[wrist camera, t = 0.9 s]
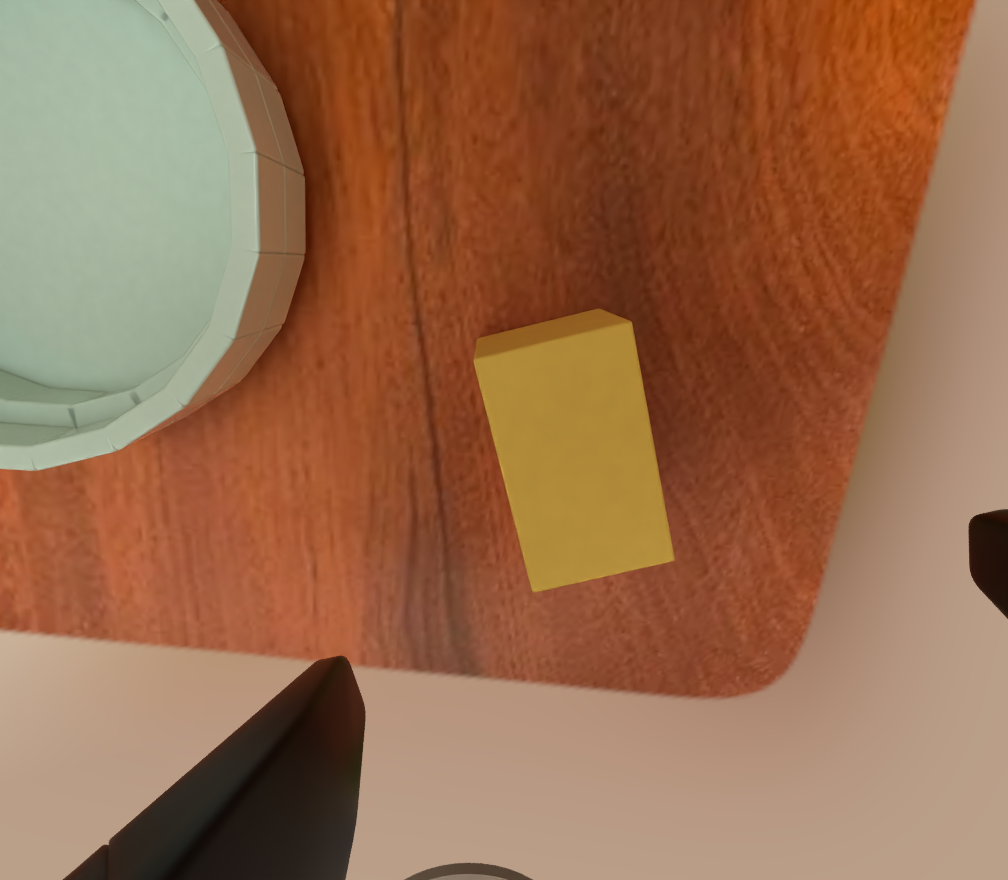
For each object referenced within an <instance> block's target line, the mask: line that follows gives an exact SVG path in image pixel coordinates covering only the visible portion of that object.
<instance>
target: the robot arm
mask: <svg viewBox="0 0 1008 880" xmlns="http://www.w3.org/2000/svg"><path fill="white" fill-rule="evenodd" d="M969 564H970V572H971V576H972V578H973V580H974V582H975V583H976V585H977V586H978V587H979V589H980V590H981V591H982V592H983V593H984V594H985V595H986V596H987V597H988V598H989V599H990V600H991V601H992V602H993V603H994V605H995V606H996V607H997V608H998V609H999V610H1000V611H1001V612H1002V613H1003V614H1004V615H1005V616H1006V617H1007V618H1008V509H1003V510H997V511H992V512H988V513H983V514H979V515H976V516H974V517H973V518H972V519H971V521H970V523H969ZM364 730H365V707H364V702H363V699H362V696H361V693H360V690H359V687H358V685H357V682H356V679H355V676H354V674H353V671H352V668H351V665H350V663H349V661H348V660H347V658H346V657H344V656H336V657H331V658H326V659H322V660H319V661H316V662H315V663H314V664H313V665H311V666H310V667H309V668H308V669H307V670H306V671H305V672H303V673H302V674H301V675H300V676H299V677H297V678H296V679H295V680H294V681H293V682H292V683H290V684H289V685H288V686H287V687H286V688H285V689H284V690H282V691H281V692H280V693H279V694H278V695H277V696H275V697H274V698H273V699H272V700H271V701H270V702H268V703H267V704H266V705H265V706H264V707H263V708H262V709H261V710H259V711H258V712H257V713H256V714H255V715H253V716H252V717H251V718H250V719H249V720H248V721H247V722H245V723H244V724H243V725H242V726H241V727H240V728H238V729H237V730H236V731H235V732H234V733H233V734H232V735H230V736H229V737H228V738H227V739H226V740H225V741H224V742H222V743H221V744H220V745H219V746H218V747H216V748H215V749H214V750H213V751H212V752H211V753H209V754H208V755H207V756H206V757H205V758H204V759H202V760H201V761H200V762H199V763H198V764H197V765H196V766H194V767H193V768H192V769H191V770H190V771H189V772H187V773H186V774H185V775H184V776H183V777H182V778H180V779H179V780H178V781H177V782H176V783H175V784H174V785H172V786H171V787H170V788H169V789H168V790H167V791H165V792H164V793H163V794H162V795H161V796H160V797H158V798H157V799H156V800H155V801H154V802H153V803H152V804H150V805H149V806H148V807H147V808H146V809H145V810H143V811H142V812H141V813H140V814H139V815H138V816H136V817H135V818H134V819H133V820H132V821H131V822H130V823H128V824H127V825H126V826H125V827H124V828H123V829H121V830H120V831H119V832H118V833H117V834H116V835H114V836H113V837H112V838H111V839H110V841H109V846H108V845H103V846H101V847H100V848H99V849H98V850H97V851H96V852H95V853H93V854H92V855H91V856H90V857H89V858H88V859H87V860H85V861H84V862H83V863H82V864H81V865H80V866H79V867H77V868H76V869H75V870H74V871H73V872H71V873H70V874H69V875H68V876H67V877H65V878H64V879H63V880H345V878H346V873H347V869H348V863H349V858H350V853H351V848H352V843H353V837H354V831H355V826H356V818H357V810H358V799H359V788H360V776H361V765H362V752H363V741H364Z"/></svg>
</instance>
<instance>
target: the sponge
mask: <svg viewBox="0 0 1008 880" xmlns="http://www.w3.org/2000/svg"><path fill="white" fill-rule="evenodd" d="M473 362H474V366H475V370H476V374H477V378H478V382H479V386H480V390H481V394H482V397H483V401H484V405H485V409H486V413H487V417H488V421H489V425H490V429H491V433H492V437H493V440H494V444H495V448H496V452H497V456H498V460H499V464H500V468H501V472H502V476H503V480H504V483H505V487H506V491H507V495H508V499H509V503H510V507H511V511H512V515H513V519H514V523H515V526H516V530H517V534H518V538H519V542H520V546H521V550H522V554H523V558H524V562H525V566H526V569H527V573H528V577H529V581H530V585H531V589H532V591H533V592H540V591H544V590H548V589H553V588H557V587H562V586H566V585H570V584H575V583H579V582H583V581H588V580H592V579H597V578H601V577H605V576H610V575H614V574H619V573H623V572H627V571H632V570H636V569H641V568H645V567H649V566H654V565H658V564H663V563H667V562H671V561H674V553H673V547H672V542H671V536H670V531H669V525H668V520H667V514H666V509H665V503H664V497H663V492H662V486H661V481H660V475H659V470H658V464H657V459H656V453H655V448H654V442H653V436H652V431H651V425H650V420H649V414H648V409H647V403H646V398H645V392H644V387H643V381H642V375H641V370H640V364H639V359H638V353H637V348H636V342H635V337H634V331H633V326H632V322H631V321H629V320H627V319H624V318H622V317H619V316H617V315H614V314H612V313H609V312H607V311H604V310H602V309H594V310H590V311H586V312H582V313H578V314H574V315H570V316H566V317H562V318H558V319H554V320H550V321H546V322H542V323H538V324H533V325H529V326H525V327H521V328H517V329H513V330H509V331H505V332H501V333H497V334H493V335H489V336H485V337H481V338H478V339H477V341H476V348H475V355H474V361H473Z"/></svg>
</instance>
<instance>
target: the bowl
mask: <svg viewBox="0 0 1008 880" xmlns="http://www.w3.org/2000/svg"><path fill="white" fill-rule="evenodd" d="M303 174H304V170H303V167H302V163H301V160H300V157H299V154H298V150H297V147H296V144H295V141H294V137H293V134H292V131H291V127H290V124H289V121H288V118H287V114H286V111H285V108H284V105H283V101H282V98H281V95H280V93H279V92H278V91H277V86H276V85H275V83H274V82H273V80H272V79H271V77H270V75H269V74H268V72H267V71H266V69H265V68H264V66H263V65H262V63H261V61H260V60H259V58H258V57H257V55H256V54H255V52H254V51H253V49H252V47H251V46H250V44H249V43H248V41H247V40H246V38H245V37H244V35H243V33H242V32H241V30H240V29H239V27H238V26H237V24H236V22H235V21H234V19H233V18H232V16H231V15H230V14H229V13H228V12H227V11H226V9H225V8H224V7H223V6H222V5H221V4H220V3H219V2H218V1H217V0H0V469H13V470H29V471H35V470H44V469H48V468H52V467H56V466H61V465H65V464H69V463H73V462H77V461H81V460H85V459H89V458H93V457H97V456H102V455H106V454H110V453H114V452H117V451H119V450H121V449H123V448H125V447H127V446H129V445H131V444H133V443H135V442H137V441H139V440H141V439H143V438H145V437H147V436H149V435H151V434H153V433H155V432H157V431H159V430H161V429H163V428H165V427H167V426H169V425H171V424H173V423H175V422H177V421H179V420H181V419H183V418H185V417H187V416H189V415H190V414H192V413H193V412H195V411H196V410H198V409H199V408H201V407H202V406H204V405H205V404H207V403H209V402H210V401H212V400H213V399H215V398H216V397H218V396H219V395H221V394H222V393H224V392H225V391H227V390H229V389H230V388H232V387H233V386H235V385H236V384H238V383H239V382H241V381H242V379H243V378H244V377H245V376H246V375H247V373H248V372H249V371H250V369H251V368H252V367H253V365H254V364H255V363H256V361H257V360H258V359H259V357H260V356H261V355H262V353H263V352H264V351H265V349H266V348H267V347H268V345H269V344H270V343H271V341H272V340H273V339H274V337H275V336H276V335H277V333H278V332H279V331H280V329H281V327H282V324H284V323H285V319H286V316H287V313H288V310H289V307H290V304H291V300H292V297H293V294H294V291H295V288H296V284H297V281H298V278H299V275H300V272H301V269H302V265H303V262H304V259H305V257H304V254H305V252H306V238H305V177H304V175H303Z"/></svg>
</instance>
